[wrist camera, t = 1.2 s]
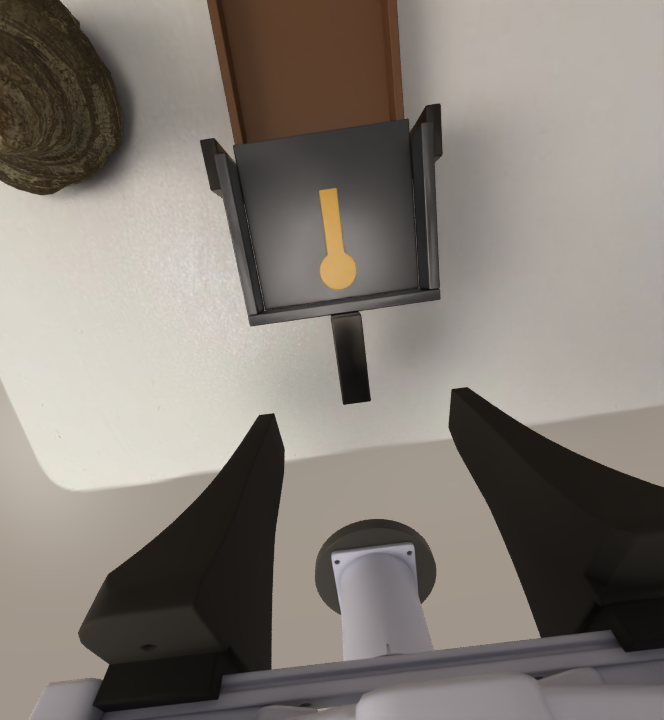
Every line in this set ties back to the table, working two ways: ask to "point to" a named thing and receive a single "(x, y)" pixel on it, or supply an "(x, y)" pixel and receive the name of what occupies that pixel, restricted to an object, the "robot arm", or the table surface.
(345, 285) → the spoon
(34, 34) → the seashell
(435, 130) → the bracket
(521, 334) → the table surface
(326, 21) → the tray
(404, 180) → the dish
